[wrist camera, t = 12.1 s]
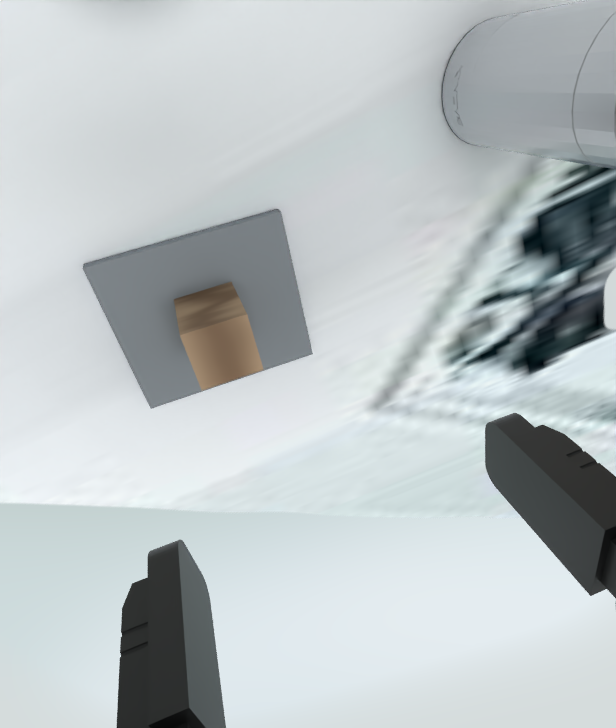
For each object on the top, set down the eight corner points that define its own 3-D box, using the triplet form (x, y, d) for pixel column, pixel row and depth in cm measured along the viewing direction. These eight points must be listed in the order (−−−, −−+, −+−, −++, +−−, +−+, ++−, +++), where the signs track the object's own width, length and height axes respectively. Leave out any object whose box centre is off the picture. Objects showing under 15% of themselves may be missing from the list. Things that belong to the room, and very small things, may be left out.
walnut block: (231, 281, 40) (246, 314, 34) (246, 331, 43) (263, 369, 37) (173, 299, 39) (179, 335, 34) (193, 349, 42) (201, 390, 36)
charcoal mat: (277, 208, 39) (280, 211, 39) (309, 349, 47) (312, 353, 46) (83, 264, 37) (82, 268, 36) (150, 402, 45) (150, 408, 44)
